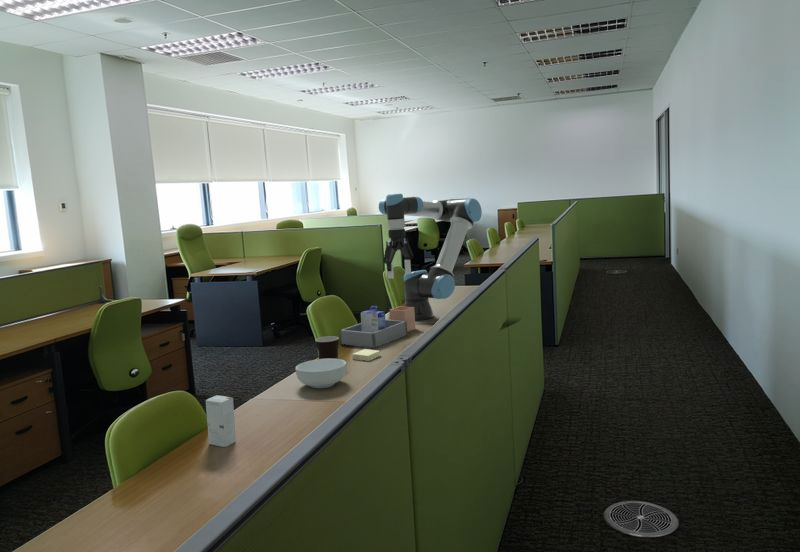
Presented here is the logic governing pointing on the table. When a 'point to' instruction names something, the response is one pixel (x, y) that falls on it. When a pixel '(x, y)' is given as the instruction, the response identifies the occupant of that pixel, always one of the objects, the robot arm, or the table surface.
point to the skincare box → (220, 421)
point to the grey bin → (373, 334)
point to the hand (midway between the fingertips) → (399, 276)
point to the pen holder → (404, 316)
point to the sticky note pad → (366, 354)
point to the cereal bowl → (321, 372)
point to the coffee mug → (327, 347)
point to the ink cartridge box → (373, 320)
